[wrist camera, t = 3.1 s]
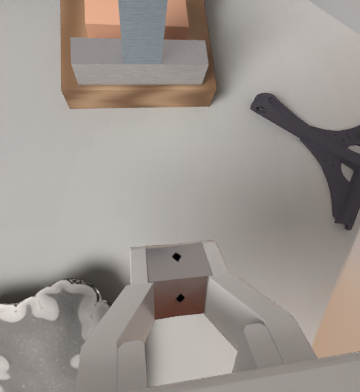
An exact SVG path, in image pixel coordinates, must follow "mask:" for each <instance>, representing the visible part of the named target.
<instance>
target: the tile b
mask: <svg viewBox="0 0 360 392" xmlns="http://www.w3.org/2000/svg"><path fill="white" fill-rule="evenodd" d="M188 29H189V24H188V16H187V8H186V0H168V3H167V12H166V22H165V31H164V39H165V40H186V38H187V33H188Z"/></svg>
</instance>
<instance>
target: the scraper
mask: <svg viewBox="0 0 360 392" xmlns="http://www.w3.org/2000/svg"><path fill="white" fill-rule="evenodd" d="M167 3H168V0H118V6H119V18H120V29H121V39H120V38H75V37H70V40H71V65H72V68H73V71H74V74H75V77H76V79H77V82H78V85H79V86H155V85H202V82H203V79H204V77H205V74H206V71H207V68H208V65H209V64H208V57H207V50H206V43H205V40H165V39H164V31H165V22H166V12H167Z"/></svg>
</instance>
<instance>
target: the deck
mask: <svg viewBox="0 0 360 392" xmlns="http://www.w3.org/2000/svg"><path fill="white" fill-rule="evenodd" d="M186 8H187V16H188V24H189V29H188V33H187V38H186V40H205V43H206V50H207V57H208V64H209V65H208V68H207V71H206V74H205V77H204V79H203V82H202V85H155V86H79V85H78V82H77V79H76V77H75V74H74V71H73V68H72V65H71V40H70V37H75V38H88V34H87V29H86V25H85V2H84V0H60V11H61V91H62V93H63V95H64V97H65V99H66V101H67V104H68V106H69V108H70V109H77V108H138V107H199V106H209V105H210V103H211V101H212V99H213V96H214V94H215V92H216V90H217V88H216V81H215V74H214V67H213V60H212V53H211V46H210V39H209V32H208V25H207V18H206V11H205V4H204V0H186Z"/></svg>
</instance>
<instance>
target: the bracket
mask: <svg viewBox="0 0 360 392" xmlns="http://www.w3.org/2000/svg"><path fill="white" fill-rule="evenodd" d="M259 107H260V108H261V109H264V110H266V111H263V110H261V109H259ZM251 110H253V111H254V112H256V113H258V114H259V115H261V116H263V117H265V118H266V119H268V120H270V121H271V122H273V123H275V124H276V125H278V126H280V127H282V128H283V129H285V130H287V131H288V132H290V133H292V134H294V135H295V136H297V137H299V138H300V140H301V141H302V142H303V143H304V144H305V146H306V147H307V148H308V149H309V150H310V151H311V152H312V153H313V155H314V156H315V157H316V159H317V160H318V162H319V163H320V165H321V166H322V169H323V171H324V173H325V176H326V178H327V181H328V184H329V188H330V193H331V199H332V211H333V217H335V218H336V220H335V223H344V224H346V226H345V229H347V230H351V229H352V227H353V224H354V221H355V219H356V216H357V213H358V210H359V208H360V154H358V153H356V152H353V151H351V150H349V149H347V148H348V147H349V146H351V145H358V146H360V125H359V126H357V127H355V128H352V129H348V130H342V131H330V130H323V129H319V128H315V127H312V126H309V125H308V124H306V123H305V122H303V121H302V120H301V119H299V118H298V117H297V116H296V115H295V114H294V113H292V112H291V111H290V110H289V109H288V108H287V107H285V106H284V105H283V104H282V103H281V102H280V101H279V100H278V99H277V98H276V97H275V96H274V95H272V94H269V93H261V94H258V95H257V96H256V97H255V99H254V101H253V103H252V105H251ZM341 162H342V163H343V164H345V165H347V166H348V167H350V168H351V169H352V170H353V171H354V173H353V176H352V179H351V181H350V182H348V181H347V180H346V178H345V177H344V176H343V174H342V171H341Z"/></svg>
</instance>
